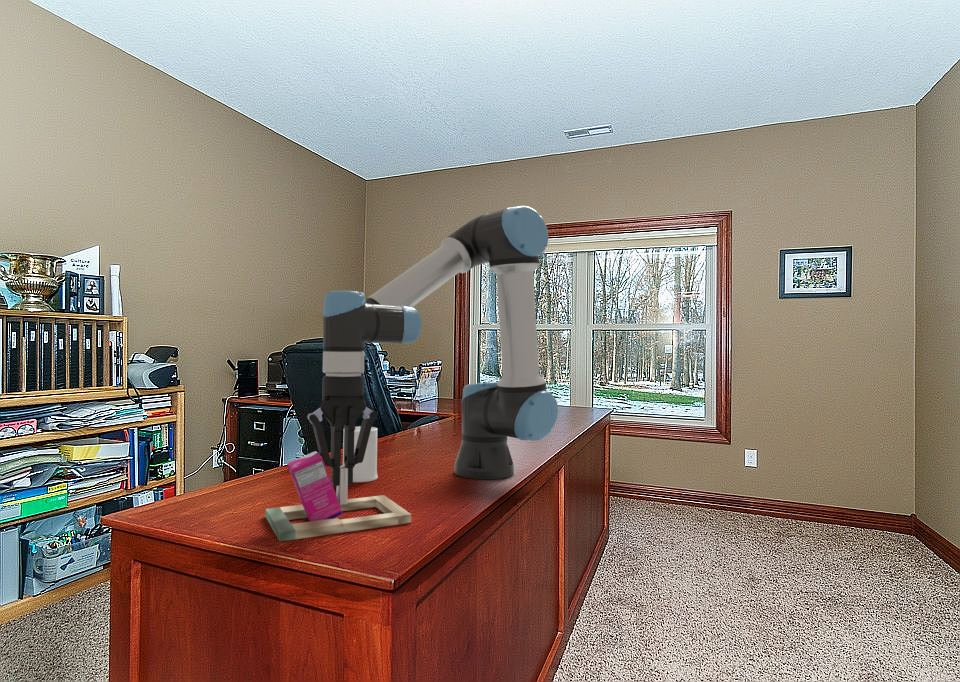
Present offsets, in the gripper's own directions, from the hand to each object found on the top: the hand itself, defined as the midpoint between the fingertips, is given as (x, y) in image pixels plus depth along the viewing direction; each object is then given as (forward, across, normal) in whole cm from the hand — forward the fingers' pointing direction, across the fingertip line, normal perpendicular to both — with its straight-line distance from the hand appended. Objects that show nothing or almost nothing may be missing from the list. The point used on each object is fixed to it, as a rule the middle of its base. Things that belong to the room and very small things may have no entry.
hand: (341, 502), depth 106 cm
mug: (+3, -14, -32) cm, 35 cm away
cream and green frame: (+3, +1, 0) cm, 3 cm away
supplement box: (+3, +3, 0) cm, 4 cm away
